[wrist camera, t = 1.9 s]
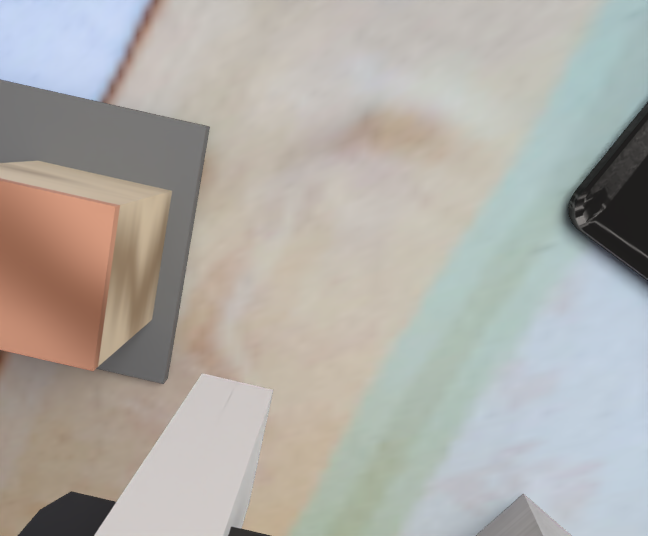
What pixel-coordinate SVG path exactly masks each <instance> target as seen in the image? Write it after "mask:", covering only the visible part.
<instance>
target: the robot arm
mask: <svg viewBox="0 0 648 536" xmlns="http://www.w3.org/2000/svg"><path fill="white" fill-rule="evenodd" d="M272 394H273V390H272V389H268V388H264V387H259V386H255V385H251V384H246V383H242V382H238V381H233V380H229V379H224V378H220V377H216V376H211V375H207V374H203V373H202V374H201V376H200V377H199V379H198V380H197V382H196V383H195V385H194V386H193V388H192V389H191V391H190V392H189V394H188V395H187V397H186V398H185V400H184V401H183V403H182V404H181V406H180V407H179V409H178V410H177V412H176V413H175V415H174V416H173V418H172V419H171V421H170V422H169V424H168V425H167V427H166V428H165V430H164V431H163V433H162V434H161V436H160V437H159V439H158V440H157V442H156V443H155V445H154V446H153V448H152V449H151V451H150V452H149V454H148V455H147V457H146V458H145V460H144V461H143V463H142V464H141V466H140V467H139V469H138V470H137V472H136V473H135V475H134V476H133V478H132V479H131V481H130V482H129V484H128V485H127V487H126V488H125V490H124V491H123V493H122V494H121V496H120V497H119V499H118V501H117V502H114V501H110V500H106V499H101V498H97V497H93V496H88V495H84V494H80V493H76V492H69V493H68V494H66V495H64V496H63V497H61V498H59V499H58V500H56V501H54V502H52V503H51V504H49V505H47V506H46V507H44V508H42V509H40V510H39V511H38V513H37V514H36V515H35V516H34V517H33V518H32V520H31V521H30V522H29V523H28V524H27V525H26V527H25V528H24V529H23V530H22V531H21V533H20V534H19V535H18V536H270V535H266V534H262V533H257V532H253V531H249V530H244V529H241V528H242V525H243V522H244V519H245V515H246V512H247V509H248V505H249V502H250V497H251V492H252V488H253V483H254V478H255V473H256V469H257V464H258V459H259V455H260V450H261V445H262V441H263V436H264V431H265V427H266V422H267V417H268V412H269V408H270V403H271V398H272Z"/></svg>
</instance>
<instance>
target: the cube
mask: <svg viewBox="0 0 648 536" xmlns="http://www.w3.org/2000/svg"><path fill="white" fill-rule="evenodd" d="M171 196H172V191H170V190H166V189H162V188H157V187H153V186H148V185H144V184H139V183H135V182H131V181H126V180H122V179H117V178H113V177H108V176H104V175H99V174H95V173H91V172H86V171H82V170H77V169H73V168H68V167H64V166H60V165H55V164H51V163H46V162H42V161H25V162H9V163H0V350H3V351H8V352H12V353H16V354H21V355H25V356H30V357H34V358H38V359H43V360H47V361H51V362H56V363H60V364H65V365H69V366H73V367H78V368H82V369H86V370H91V371H94V370H95V369H96V368H97V367H98V366H99V365H101V364H102V363H103V362H104V361H105V360H106V359H107V358H109V357H110V356H111V355H112V354H113V353H114V352H115V351H117V350H118V349H119V348H120V347H121V346H122V345H124V344H125V343H126V342H127V341H128V340H129V339H130V338H132V337H133V336H134V335H135V334H136V333H137V332H138V331H140V330H141V329H142V328H143V327H144V326H145V325H146V324H148V323H149V322H150V321H151V320H152V317H153V310H154V304H155V298H156V291H157V285H158V279H159V272H160V266H161V259H162V253H163V247H164V240H165V234H166V227H167V221H168V215H169V208H170V202H171Z"/></svg>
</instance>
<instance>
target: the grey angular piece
mask: <svg viewBox="0 0 648 536" xmlns="http://www.w3.org/2000/svg"><path fill="white" fill-rule="evenodd" d="M476 536H572V535H571V534H569V533H568V532H567V531H566V530H565V529H564V528H563V527H561V526H560V525H559V524H558V523H557V522H556V521H555V520H553V519H552V518H551V517H550V516H549V515H548V514H546V513H545V512H544V511H543V510H542V509H541V508H540V507H538V506H537V505H536V504H535V503H534V502H533V501H531V500H530V499H529V498H528V497H527V496H526V495H525V494H523V495H521V496H520V497H519V498H518V499H517V500H516V501H515V502H513V503H512V504H511V505H510V506H509V507H508V508H507V509H505V510H504V511H503V512H502V513H501V514H500V515H499V516H497V517H496V518H495V519H494V520H493V521H492V522H491V523H489V524H488V525H487V526H486V527H485V528H484V529H483V530H481V531H480V532H479V533H478V534H477V535H476Z"/></svg>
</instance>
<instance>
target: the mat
mask: <svg viewBox="0 0 648 536" xmlns="http://www.w3.org/2000/svg"><path fill="white" fill-rule="evenodd" d="M209 128H210V127H209V126H205V125H200V124H196V123H191V122H187V121H182V120H178V119H173V118H169V117H164V116H160V115H156V114H151V113H147V112H142V111H138V110H133V109H129V108H124V107H120V106H115V105H111V104H107V103H102V102H98V101H93V100H89V99H84V98H80V97H75V96H71V95H66V94H62V93H57V92H53V91H49V90H44V89H40V88H35V87H31V86H26V85H22V84H17V83H13V82H8V81H4V80H0V163H9V162H25V161H42V162H46V163H51V164H55V165H60V166H64V167H68V168H73V169H77V170H82V171H86V172H91V173H95V174H99V175H104V176H108V177H113V178H117V179H122V180H126V181H131V182H135V183H139V184H144V185H148V186H153V187H157V188H162V189H166V190H170V191H172V196H171V202H170V208H169V215H168V221H167V227H166V234H165V240H164V247H163V253H162V259H161V266H160V272H159V279H158V285H157V291H156V298H155V304H154V310H153V317H152V320H151V321H150V322H149V323H148V324H146V325H145V326H144V327H143V328H142V329H141V330H140V331H138V332H137V333H136V334H135V335H134V336H133V337H132V338H130V339H129V340H128V341H127V342H126V343H125V344H124V345H122V346H121V347H120V348H119V349H118V350H117V351H115V352H114V353H113V354H112V355H111V356H110V357H109V358H107V359H106V360H105V361H104V362H103V363H102V364H101V365H99V366H98V367H97V368H96V369H101V370H105V371H109V372H114V373H118V374H122V375H127V376H131V377H136V378H140V379H144V380H149V381H153V382H157V383H162V384H164V383H165V381H166V380H167V379H168V373H169V367H170V361H171V355H172V350H173V344H174V338H175V332H176V326H177V320H178V314H179V308H180V302H181V296H182V290H183V284H184V278H185V272H186V266H187V260H188V254H189V248H190V242H191V236H192V230H193V224H194V218H195V212H196V206H197V200H198V194H199V188H200V182H201V176H202V170H203V164H204V158H205V152H206V146H207V140H208V134H209Z"/></svg>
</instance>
